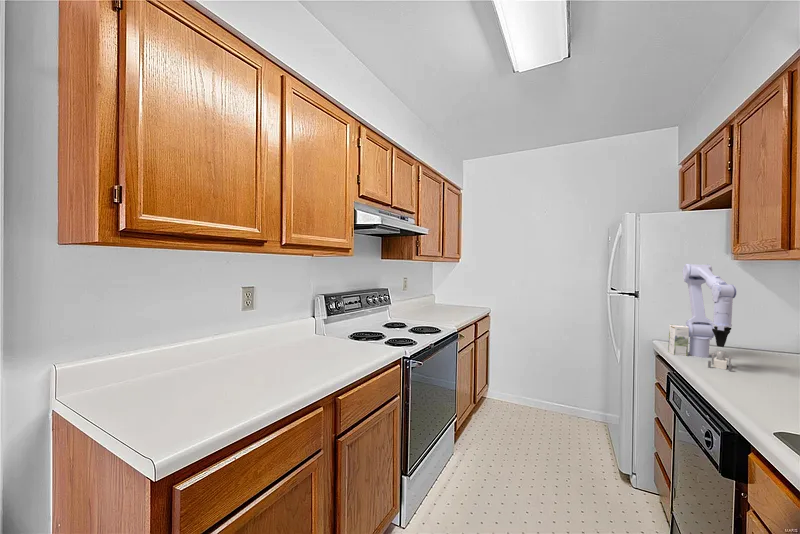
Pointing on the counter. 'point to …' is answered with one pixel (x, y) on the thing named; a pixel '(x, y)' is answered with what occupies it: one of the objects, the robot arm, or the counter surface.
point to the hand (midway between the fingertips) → (721, 345)
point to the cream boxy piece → (713, 359)
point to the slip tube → (720, 360)
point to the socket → (710, 365)
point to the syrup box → (678, 340)
